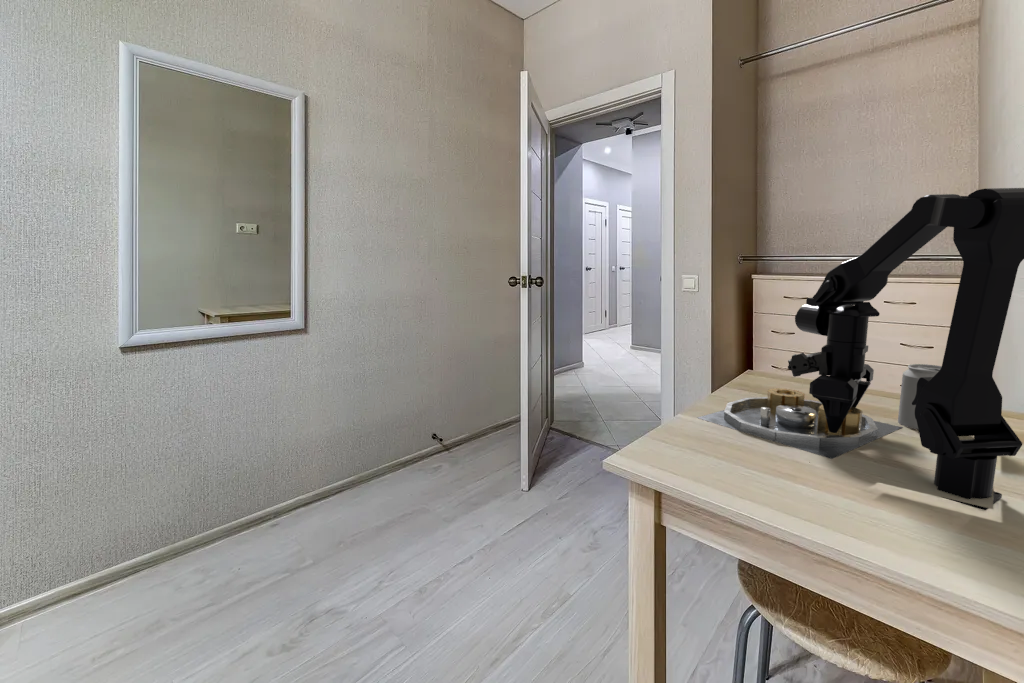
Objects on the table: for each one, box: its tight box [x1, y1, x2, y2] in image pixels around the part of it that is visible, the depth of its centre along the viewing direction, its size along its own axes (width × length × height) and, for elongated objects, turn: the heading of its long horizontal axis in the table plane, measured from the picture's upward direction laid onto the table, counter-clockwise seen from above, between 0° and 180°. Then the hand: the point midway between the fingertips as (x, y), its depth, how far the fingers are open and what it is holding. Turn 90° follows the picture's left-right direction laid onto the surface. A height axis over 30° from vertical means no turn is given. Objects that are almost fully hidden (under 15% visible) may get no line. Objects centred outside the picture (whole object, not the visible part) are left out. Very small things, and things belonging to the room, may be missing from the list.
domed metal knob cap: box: [775, 405, 816, 428], centre depth 92 cm, size 7×7×3 cm
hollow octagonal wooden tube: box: [817, 405, 863, 435], centre depth 87 cm, size 6×6×4 cm
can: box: [897, 363, 942, 431], centre depth 88 cm, size 8×8×12 cm
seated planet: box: [766, 387, 806, 414], centre depth 99 cm, size 6×6×4 cm
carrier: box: [696, 394, 904, 460], centre depth 92 cm, size 25×25×4 cm
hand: (839, 425), depth 87 cm, fingers open, 9 cm apart
